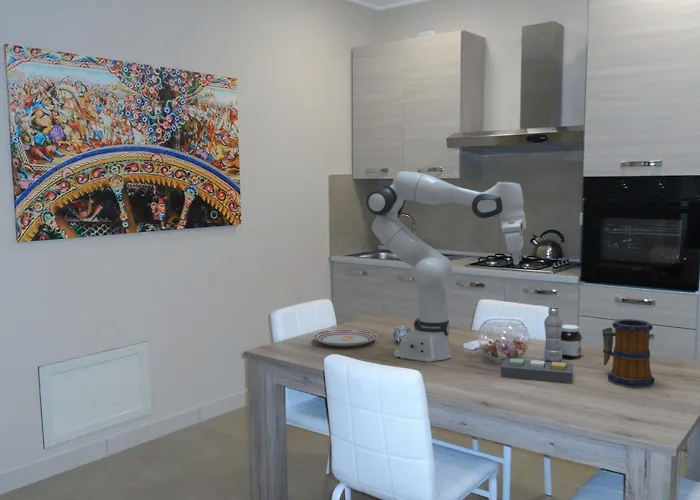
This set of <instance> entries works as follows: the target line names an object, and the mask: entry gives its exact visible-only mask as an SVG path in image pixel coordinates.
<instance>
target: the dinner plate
mask: <svg viewBox="0 0 700 500" xmlns="http://www.w3.org/2000/svg"><path fill="white" fill-rule="evenodd" d="M343 336H353V337H354V338H352V339H351V340H349V341H342V337H343ZM312 337H313V339H314V340H315V341H317V342H319V343H321V344H324V345H326V344H327V345H326V346H329V345H331V346H330V347H333V346H344V347H343V348H346V347H345V346H356V347H358V346H357V345H361V346H363V345H362V344H364V345H365V344H368V343H370V342H373V341H374V340H376V339H378V335H377V334H376V333H374V332H372V331H370V330H369V331H367V330H363V329H354V328H353V329H351V328H350V329H348V328H347V329H346V328H345V329H344V328H341V329H340V328H339V329H338V328H337V329H329V330H323V331H318V332H316V333H314V334H313V335H312Z"/></svg>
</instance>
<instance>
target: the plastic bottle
mask: <svg viewBox="0 0 700 500" xmlns="http://www.w3.org/2000/svg"><path fill="white" fill-rule="evenodd" d="M547 314H548V315H547V316H546V317H545V319H544V321H543V325H544V333H545V344H544V350H543V357H544V361H545V362H562V360H563V358H562V357H563V354H562V349H561V332H562V326H563V325H564V324H563V323H564V322H563V320H562V318H561V316H559V314H560V308H558V307H549V308H548V312H547Z"/></svg>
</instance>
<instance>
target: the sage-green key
mask: <svg viewBox="0 0 700 500" xmlns="http://www.w3.org/2000/svg"><path fill="white" fill-rule="evenodd" d="M509 359H510V361H509V365H513V366H523V365H524V360H525V359H524V358H514V357H513V358H509Z"/></svg>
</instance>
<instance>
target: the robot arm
mask: <svg viewBox="0 0 700 500" xmlns="http://www.w3.org/2000/svg"><path fill="white" fill-rule="evenodd" d="M391 183H392V184H391V185H389V184H387V185H384V186H380V187H376V188H375V189H373V190H371V191H370V192H369V193H368V194H367V197H366V200H365V204H366V205H365V206H366V207H367V209H368V211H369V212H370V213H372V214H373V215H375V216H376V217H375V219H374V220H373V222H372V225H371V229H372V232H373V234H374V235H375V236H376V237H377V239H378V240H379V241H380V242H381V243H382V244H383V245H384V246H385V247H386V248H387V249H388V250H389V251H390V252H391V253H392V254H394V256H396V257H397V259H398V260H400V261H401V262H403V263H406V264H407V265H409V266H410V267H412V268H413V272H412V277H413V279H414V281H415V285H416V291H417V295H418V296H417V297H418V298H417V299H418V317H417V318H416V319H415V321H414V322H413V329H412V330H411V331H409V332H408V333H407V334H406V335H404V336H403V337H402V338H401V340H400V343H399V347H398V348H397V349H395V350H394V351H393V356H394V357H395V358H398V357H400V359H405V358H406V359H407V360H413V361H420V362H426V363H431V362H435V361H443V360H448V359H451V358H452V357H453V354H452V350H451V346H450V340H449V338H450V337H449V334H450V320H449V319H448V318H449V316H448V315H449V312H448V310H449V309H448V308H449V307H448V305H449V303H448V302H449V299H448V297H447V295H446V289H445V281H446V280H448V279H449V277H450V275H451V273H452V271H453V265H452V262H451V260H450V259H449V258H448V257H447V256H445V255H443V254H442V253H440V252H439V251H438V250H436V249H435V248H433V247H432V246H430V245H429V244H427V243H426V242H424V241H423V240H422V239H420V238H419V237H418V236H417V235H416V234H415V233H414V232H413V231H411V229H409V228H408V226H406V225H405V224H404V223H402V221H400V219H399V217H400V215H401V213H402V211H403V209H404V207H405V204H406V201H407V200H408V201H412V202H415V203H419V204H423V205H424V204H425V205H441V204H458V205H463V206H466V207H471V209H472V212H473V213H474V214H473V215H475V216H476V217H478V219H483V220H484V219H485V220H488V219H492V218H497V217H499V221H500V229H501V231H502V233H503V234H504V240H505V245H506V248H507V249H506V250H507V252H508V254H511V258H512V260H513V261H512V263H513V265H515V266H516V265H517V266H519V264H520V262H521V261H522V248H523V247H524V236H523V234H524V230H525V229H527V221H526V220H527V219H526V213H525V211H524V203H525V202H524V194H523V189H522V187H521V184H520V183H519V182H518V181H515V180H499V181H498V182H497V183H496V184H495V185H493V186H492V187H491V188H488V189H487V190H485V191H478V190H477V191H476V190H473V189H468V188H464V187H460V186H456V185H454V184H452V183H449V182H447V181H445V180H443V179H441V178H438V177H435V176H432V175H430V174H426V173H421V172H416V171H410V170H409V171H408V170H407V171H405V170H403V171H399V172H397V173H396V175H395V176H394V177H393V181H392V182H391Z"/></svg>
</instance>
